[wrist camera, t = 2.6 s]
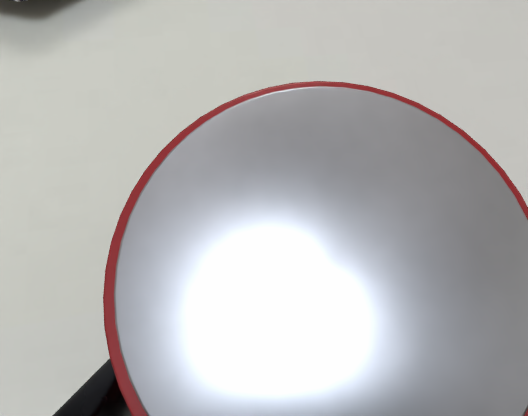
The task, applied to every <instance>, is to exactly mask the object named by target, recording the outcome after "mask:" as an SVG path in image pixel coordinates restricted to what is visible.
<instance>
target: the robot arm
mask: <svg viewBox="0 0 528 416" xmlns="http://www.w3.org/2000/svg"><path fill="white" fill-rule="evenodd" d="M53 416H132V415H131V412H130V410H129V408H128V406H127V404H126V401H125V399H124V397H123V395H122V393H121V390H120V388H119V386H118V382H117V379H116V376H115V373H114V369H113V366H112V363H111V360H110V359H109V360H108V361H107V362H106V363H105V364H104V365H103V366H102V367H101V368H100V369H99V370H98V371H97V372H96V373H95V374H94V375H93V376H92V377H91V378H90V379H89V380H88V381H87V382H86V383H85V384H84V385H83V386H82V387H81V388H80V389H79V390H78V391H77V392H76V393H75V394H74V395H73V396H72V397H71V398H70V399H69V400H68V401H67V402H66V403H65V404H64V405H63V406H62V407H61V408H60V409H59V410H58V411H57V412H56V413H55V414H54V415H53Z"/></svg>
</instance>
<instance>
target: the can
mask: <svg viewBox="0 0 528 416" xmlns="http://www.w3.org/2000/svg"><path fill="white" fill-rule="evenodd" d="M103 303H104V326H105V333H106V338H107V344H108V350H109V356H110V360H111V363H112V366H113V369H114V373H115V376H116V379H117V382H118V386H119V388H120V390H121V393H122V395H123V397H124V399H125V401H126V404H127V406H128V408H129V410H130V412H131V415H132V416H528V207H527V205H526V203H525V201H524V199H523V198H522V196H521V194H520V193H519V191H518V190H517V188H516V187H515V186H514V184H513V183H512V181H511V180H510V178H509V177H508V176H507V174H506V173H505V171H504V170H503V169H502V168H501V167H500V166H499V165H498V164H497V162H496V161H495V160H494V159H493V158H492V157H491V156H490V155H489V154H488V152H487V151H486V150H485V149H484V148H483V147H481V146H480V145H479V144H478V143H477V142H476V141H475V140H473V139H472V138H471V137H470V136H469V135H468V134H467V133H465V132H464V131H463V130H462V129H460V128H459V127H457V126H456V125H454V124H453V123H451V122H450V121H449V120H447V119H446V118H444V117H443V116H441V115H439V114H438V113H436V112H434V111H432V110H430V109H428V108H426V107H425V106H423V105H421V104H419V103H417V102H414V101H412V100H409V99H407V98H404V97H402V96H399V95H397V94H394V93H391V92H387V91H384V90H380V89H377V88H373V87H369V86H364V85H357V84H351V83H344V82H325V81H313V82H299V83H290V84H284V85H279V86H274V87H268V88H265V89H262V90H259V91H255V92H252V93H249V94H246V95H243V96H241V97H238V98H236V99H234V100H232V101H229V102H227V103H225V104H222V105H221V106H219V107H217V108H215V109H214V110H212V111H210V112H209V113H207V114H205V115H203V116H202V117H200V118H199V119H197V120H196V121H195V122H193V123H192V124H191V125H190V126H188V127H187V128H186V129H184V130H183V131H182V132H180V133H179V134H178V135H177V136H176V137H175V138H174V139H173V140H172V141H171V142H170V143H169V144H168V145H167V146H166V147H165V148H164V149H162V151H161V152H160V153H159V154H158V155H157V157H156V158H155V159H154V160H153V162H152V163H151V164H150V165H149V166H148V168H147V169H146V170H145V172H144V173H143V175H142V176H141V178H140V179H139V181H138V183H137V184H136V186H135V187H134V189H133V190H132V192H131V194H130V196H129V198H128V200H127V202H126V205H125V207H124V209H123V211H122V213H121V215H120V217H119V220H118V223H117V226H116V229H115V232H114V235H113V238H112V241H111V245H110V250H109V255H108V260H107V265H106V270H105V283H104V295H103Z"/></svg>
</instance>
